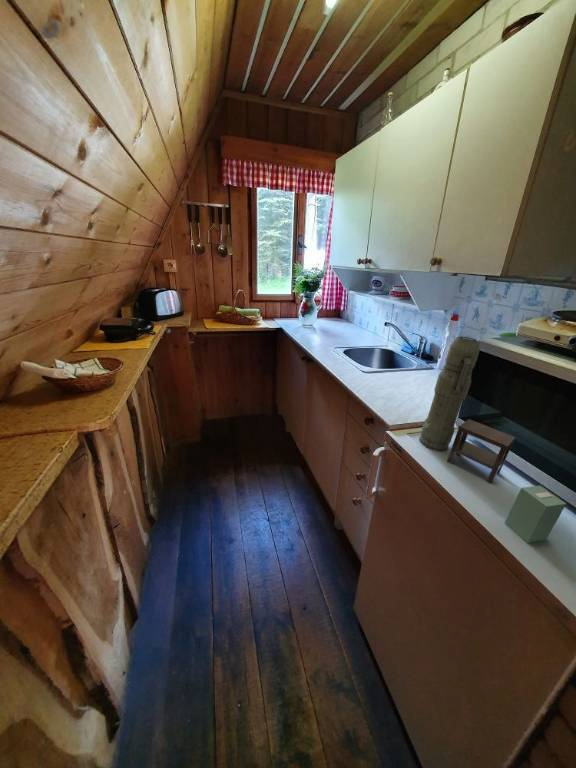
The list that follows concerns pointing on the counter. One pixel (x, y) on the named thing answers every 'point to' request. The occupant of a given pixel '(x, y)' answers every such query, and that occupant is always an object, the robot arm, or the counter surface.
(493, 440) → the rack
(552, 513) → the pale green box
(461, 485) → the counter surface
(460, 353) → the stone statue
